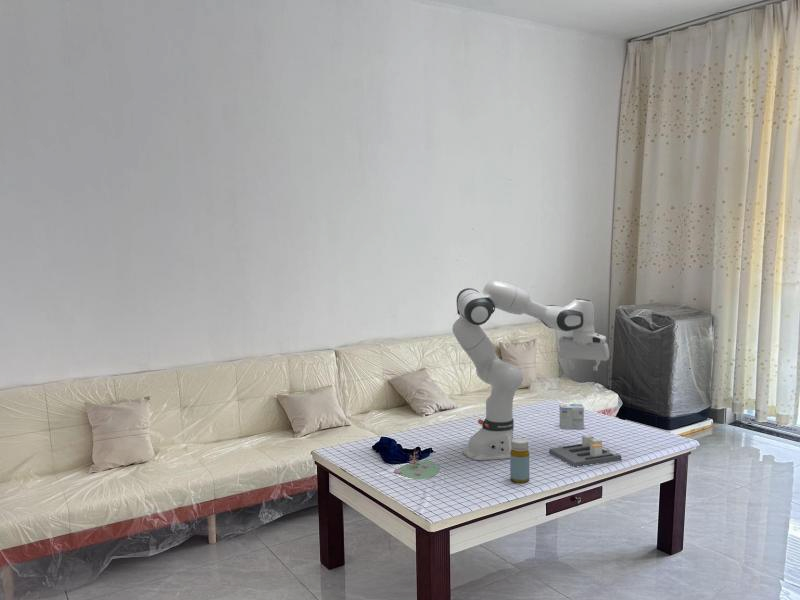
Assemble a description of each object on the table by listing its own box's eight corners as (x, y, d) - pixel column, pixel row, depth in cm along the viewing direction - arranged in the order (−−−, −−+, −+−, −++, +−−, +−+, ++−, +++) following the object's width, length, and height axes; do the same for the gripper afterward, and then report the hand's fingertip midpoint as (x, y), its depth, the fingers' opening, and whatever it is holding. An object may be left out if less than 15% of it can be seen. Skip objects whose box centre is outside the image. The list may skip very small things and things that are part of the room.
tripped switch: (594, 457, 252) (594, 446, 252) (589, 454, 255) (590, 444, 255) (602, 456, 254) (602, 445, 253) (597, 453, 256) (597, 443, 256)
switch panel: (574, 467, 247) (574, 451, 247) (549, 453, 264) (549, 438, 264) (621, 460, 254) (621, 444, 254) (593, 446, 271) (593, 432, 271)
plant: (391, 488, 232) (391, 464, 231) (367, 471, 250) (366, 448, 249) (448, 474, 244) (448, 452, 243) (421, 459, 262) (420, 438, 261)
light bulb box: (581, 425, 303) (581, 403, 302) (584, 429, 296) (584, 407, 295) (558, 425, 304) (559, 403, 303) (561, 429, 297) (561, 406, 296)
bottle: (506, 479, 236) (506, 440, 235) (517, 474, 241) (517, 436, 239) (522, 484, 231) (522, 444, 230) (533, 479, 236) (533, 440, 234)
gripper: (556, 337, 266) (557, 369, 267) (606, 339, 256) (607, 373, 257) (560, 335, 271) (561, 366, 273) (610, 337, 261) (610, 369, 263)
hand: (583, 369), depth 265 cm, fingers open, 8 cm apart
